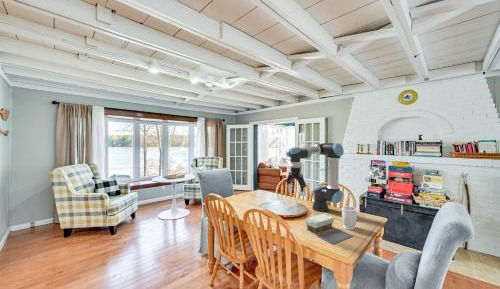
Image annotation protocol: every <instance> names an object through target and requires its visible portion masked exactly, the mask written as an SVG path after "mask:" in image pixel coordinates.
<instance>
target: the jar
mask: <svg viewBox="0 0 500 289" xmlns="http://www.w3.org/2000/svg"><path fill="white" fill-rule="evenodd" d="M341 210H342V211H341V217H342V223H343V228H344V229H346V230H349V231H350V230H351V231H352V230H353V231H354V230H355V229H356V224H357V219H358V218H357V217H358V215H357V214H358V213H357V210H358V209H357V208H356V207H354V206H353V207H352V206H346V205H345V206H342V208H341Z"/></svg>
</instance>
